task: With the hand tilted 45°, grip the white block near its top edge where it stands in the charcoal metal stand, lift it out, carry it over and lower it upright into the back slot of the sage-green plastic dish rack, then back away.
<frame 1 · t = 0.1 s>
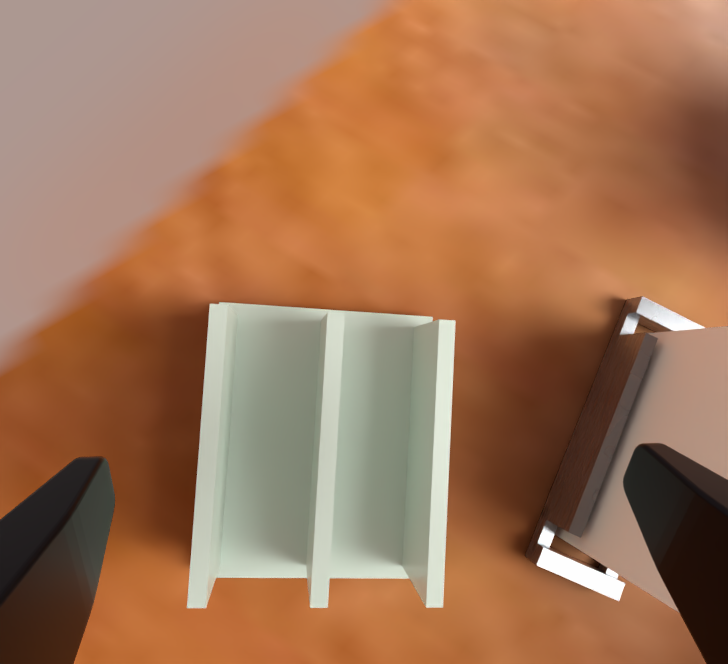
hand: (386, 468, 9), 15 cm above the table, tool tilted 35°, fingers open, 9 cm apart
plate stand: (615, 441, 26), on the table
dish rack: (365, 440, 24), on the table
white block: (614, 441, 26), resting in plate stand
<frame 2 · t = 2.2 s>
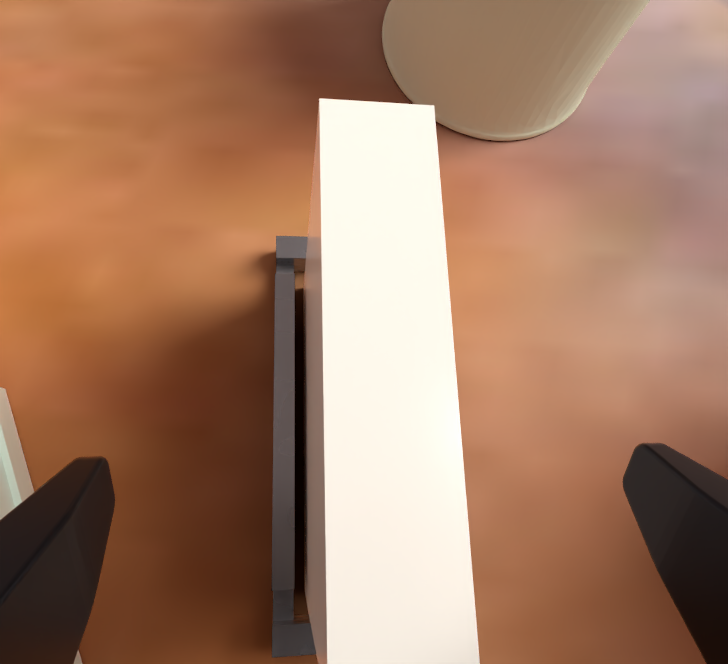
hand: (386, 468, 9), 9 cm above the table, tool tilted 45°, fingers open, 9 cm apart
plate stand: (337, 428, 19), on the table
can: (484, 53, 24), on the table
white block: (336, 428, 19), resting in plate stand
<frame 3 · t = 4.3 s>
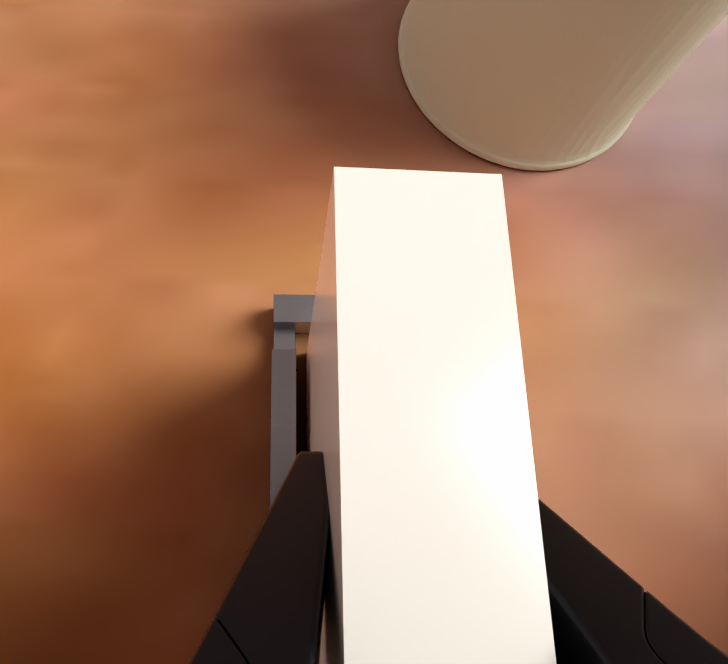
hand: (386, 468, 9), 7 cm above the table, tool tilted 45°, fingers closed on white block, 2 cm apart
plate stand: (347, 529, 15), on the table
can: (517, 66, 21), on the table
white block: (347, 529, 15), resting in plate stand, touching gripper
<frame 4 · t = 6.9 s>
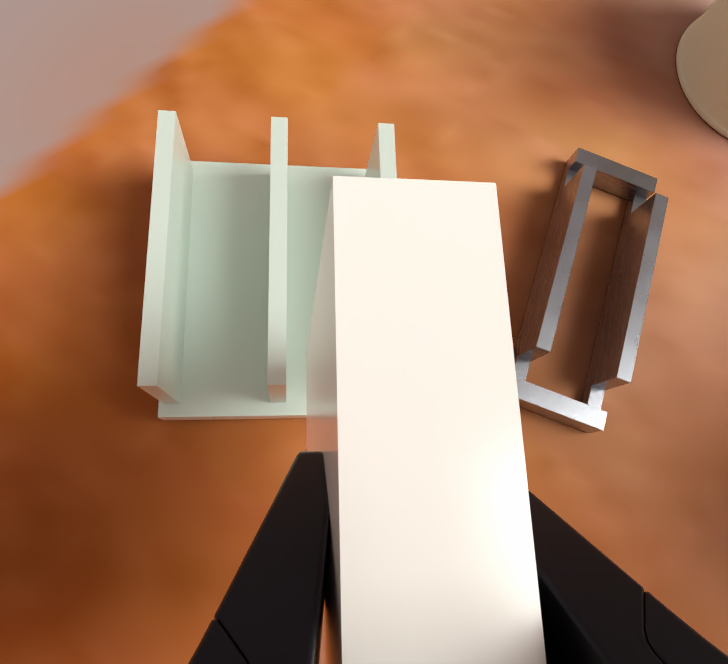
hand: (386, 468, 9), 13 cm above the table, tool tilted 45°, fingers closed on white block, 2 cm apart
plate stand: (576, 287, 26), on the table
dish rack: (326, 291, 24), on the table
white block: (346, 526, 16), point 7 cm above the table, touching gripper
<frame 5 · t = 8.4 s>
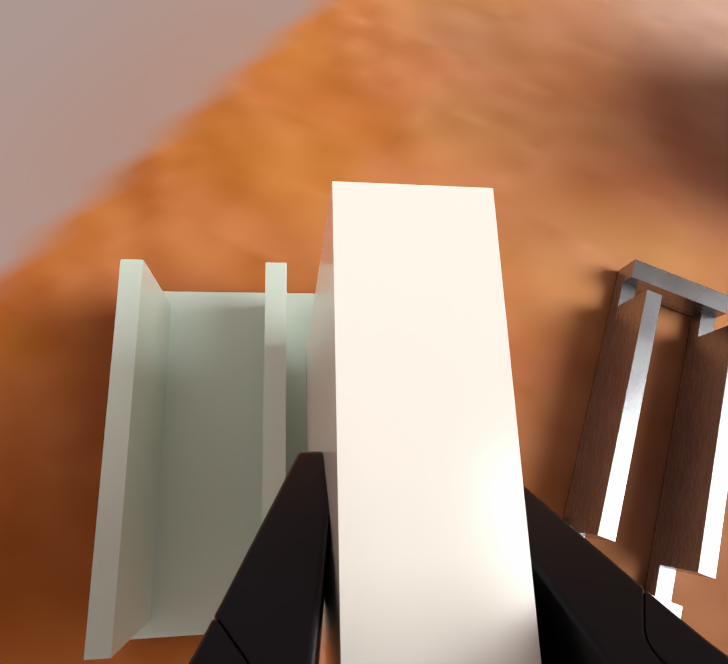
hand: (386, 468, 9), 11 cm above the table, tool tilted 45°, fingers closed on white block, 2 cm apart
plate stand: (635, 431, 22), on the table
dish rack: (333, 448, 20), on the table
white block: (345, 525, 16), point 4 cm above the table, touching gripper
when the fingers open (9 cm above the table, at t = 9.7 s): white block drops 1 cm, resting on dish rack.
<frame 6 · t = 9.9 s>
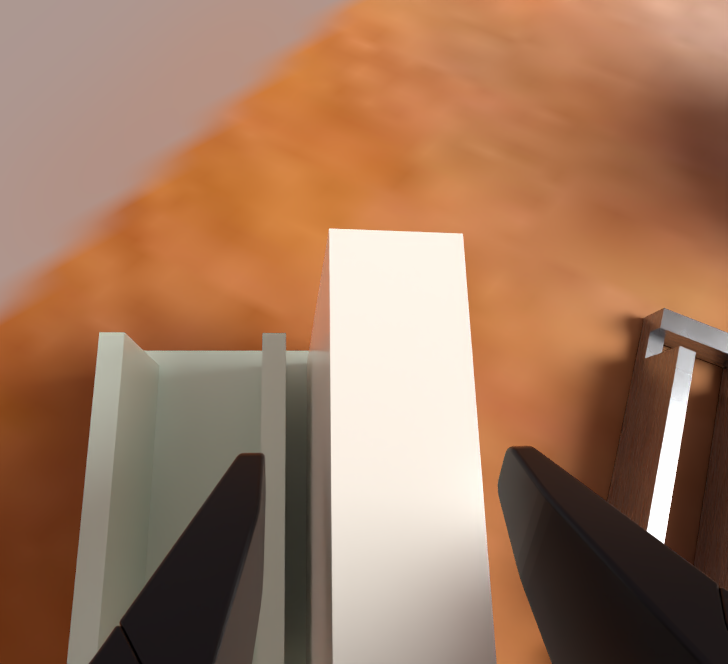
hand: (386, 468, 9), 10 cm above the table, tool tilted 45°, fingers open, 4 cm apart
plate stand: (664, 496, 20), on the table
dish rack: (337, 521, 18), on the table
white block: (341, 521, 17), point 1 cm above the table, touching dish rack
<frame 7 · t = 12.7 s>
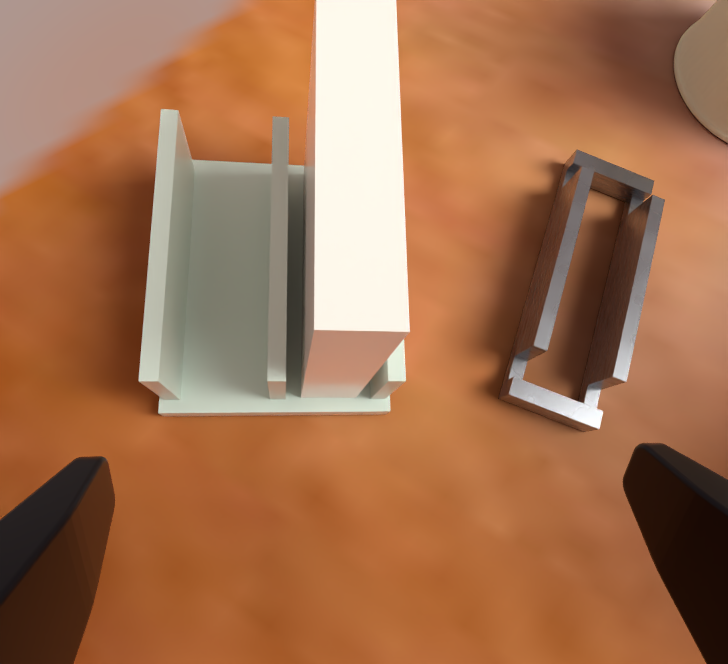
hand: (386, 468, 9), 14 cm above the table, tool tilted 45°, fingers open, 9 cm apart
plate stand: (573, 288, 26), on the table
dish rack: (325, 289, 24), on the table
white block: (328, 280, 23), point 1 cm above the table, touching dish rack
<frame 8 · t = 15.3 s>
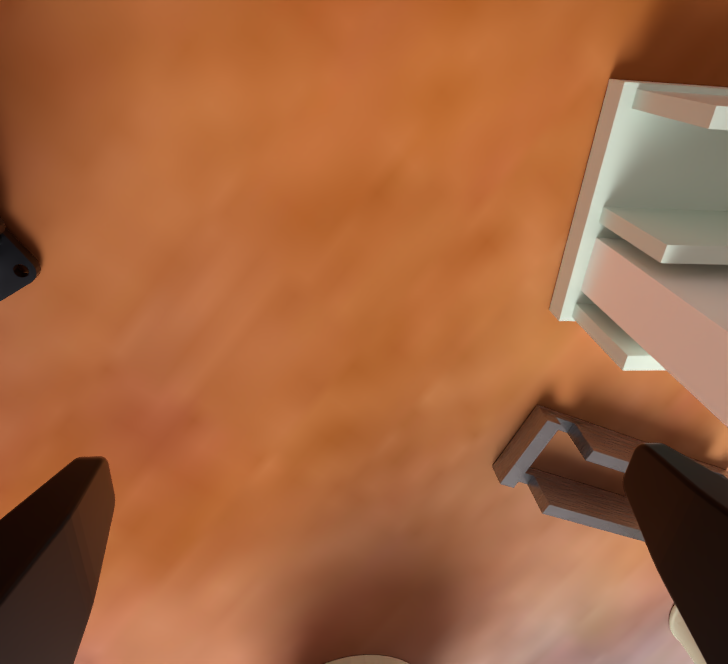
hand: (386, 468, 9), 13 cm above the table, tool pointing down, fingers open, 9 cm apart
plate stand: (614, 468, 29), on the table
dish rack: (687, 257, 23), on the table
white block: (703, 268, 22), point 1 cm above the table, touching dish rack
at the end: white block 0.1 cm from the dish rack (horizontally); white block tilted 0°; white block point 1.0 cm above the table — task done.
